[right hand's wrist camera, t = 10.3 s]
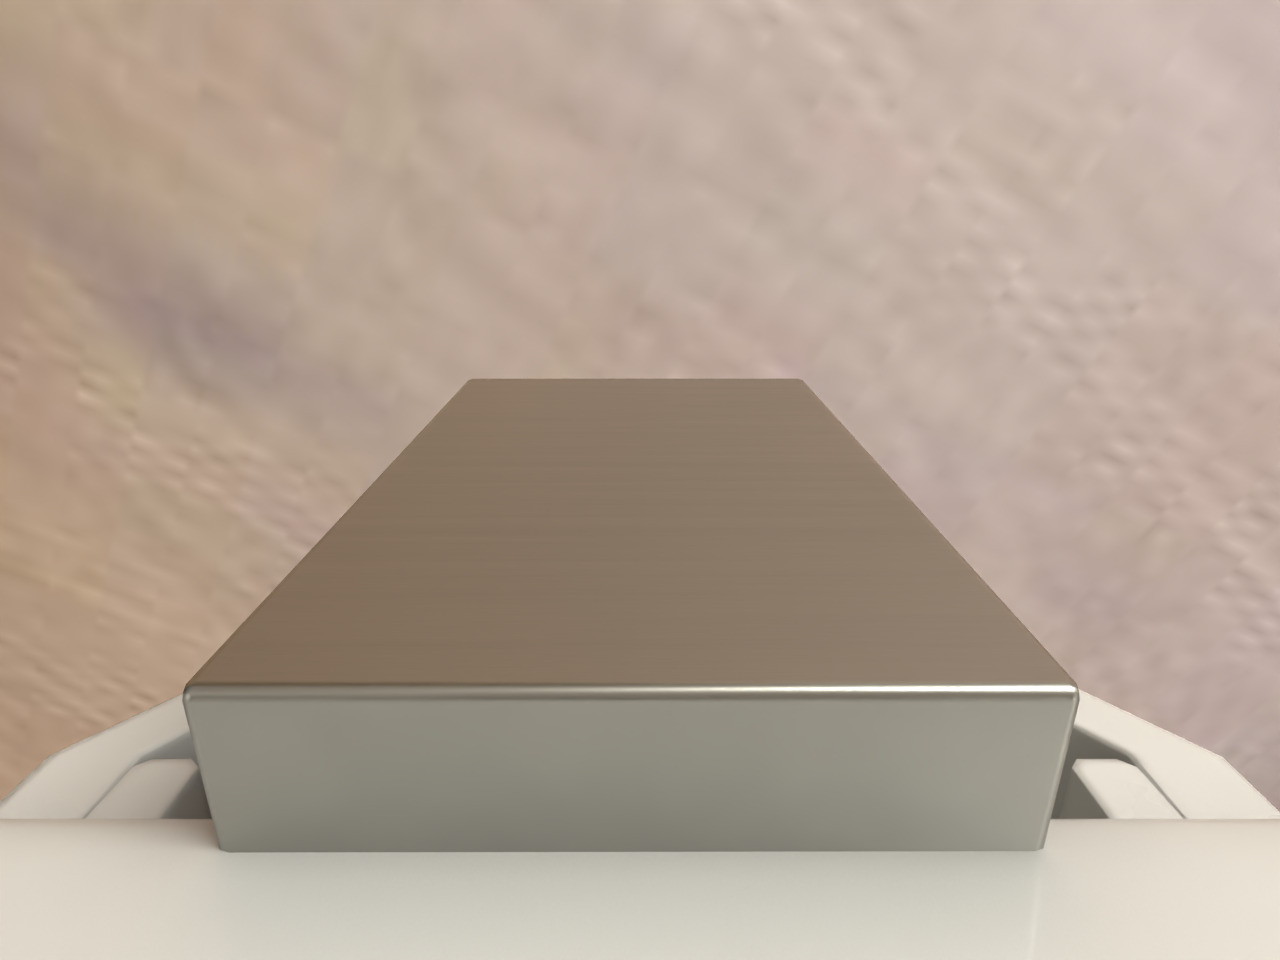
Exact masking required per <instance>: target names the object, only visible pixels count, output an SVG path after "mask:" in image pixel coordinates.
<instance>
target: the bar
mask: <svg viewBox="0 0 1280 960" xmlns="http://www.w3.org/2000/svg"><path fill="white" fill-rule="evenodd" d="M1079 701H1080V696H1079V690H1078V687H1077V684H1076V682H1075V681H1074V680H1073V679H1072V678H1071V677H1070V676H1069V675H1068V674H1067V672H1066V671H1065V670H1064V669H1063V668H1062V667H1061V666H1060V665H1059V664H1058V663H1057V661H1056V660H1055V659H1054V658H1053V657H1052V656H1051V655H1050V654H1049V653H1048V651H1047V650H1046V649H1045V648H1044V647H1043V646H1042V645H1041V644H1040V643H1039V642H1038V640H1037V639H1036V638H1035V637H1034V636H1033V635H1032V634H1031V633H1030V632H1029V630H1028V629H1027V628H1026V627H1025V626H1024V625H1023V624H1022V623H1021V622H1020V620H1019V619H1018V618H1017V617H1016V616H1015V615H1014V614H1013V613H1012V612H1011V611H1010V609H1009V608H1008V607H1007V606H1006V605H1005V604H1004V603H1003V602H1002V601H1001V599H1000V598H999V597H998V596H997V595H996V594H995V593H994V592H993V591H992V589H991V588H990V587H989V586H988V585H987V584H986V583H985V582H984V581H983V580H982V578H981V577H980V576H979V575H978V574H977V573H976V572H975V571H974V570H973V568H972V567H971V566H970V565H969V564H968V563H967V562H966V561H965V560H964V559H963V557H962V556H961V555H960V554H959V553H958V552H957V551H956V550H955V549H954V547H953V546H952V545H951V544H950V543H949V542H948V541H947V540H946V539H945V537H944V536H943V535H942V534H941V533H940V532H939V531H938V530H937V529H936V528H935V526H934V525H933V524H932V523H931V522H930V521H929V520H928V519H927V518H926V516H925V515H924V514H923V513H922V512H921V511H920V510H919V509H918V508H917V507H916V505H915V504H914V503H913V502H912V501H911V500H910V499H909V498H908V497H907V495H906V494H905V493H904V492H903V491H902V490H901V489H900V488H899V487H898V485H897V484H896V483H895V482H894V481H893V480H892V479H891V478H890V477H889V476H888V474H887V473H886V472H885V471H884V470H883V469H882V468H881V467H880V466H879V464H878V463H877V462H876V461H875V460H874V459H873V458H872V457H871V456H870V454H869V453H868V452H867V451H866V450H865V449H864V448H863V447H862V446H861V445H860V443H859V442H858V441H857V440H856V439H855V438H854V437H853V436H852V435H851V433H850V432H849V431H848V430H847V429H846V428H845V427H844V426H843V425H842V424H841V422H840V421H839V420H838V419H837V418H836V417H835V416H834V415H833V414H832V412H831V411H830V410H829V409H828V408H827V407H826V406H825V405H824V404H823V402H822V401H821V400H820V399H819V398H818V397H817V396H816V395H815V394H814V393H813V391H812V390H811V389H810V388H809V387H808V386H807V385H806V384H805V383H804V381H803V380H800V379H471V380H469V381H468V382H467V383H466V384H465V385H464V386H463V387H462V388H461V389H460V390H459V391H458V392H457V394H456V395H455V396H454V397H453V398H452V399H451V400H450V401H449V402H448V403H447V404H446V405H445V406H444V408H443V409H442V410H441V411H440V412H439V413H438V414H437V415H436V416H435V417H434V418H433V419H432V420H431V421H430V423H429V424H428V425H427V426H426V427H425V428H424V429H423V430H422V431H421V432H420V433H419V434H418V435H417V437H416V438H415V439H414V440H413V441H412V442H411V443H410V444H409V445H408V446H407V447H406V448H405V449H404V451H403V452H402V453H401V454H400V455H399V456H398V457H397V458H396V459H395V460H394V461H393V462H392V463H391V464H390V466H389V467H388V468H387V469H386V470H385V471H384V472H383V473H382V474H381V475H380V476H379V477H378V478H377V480H376V481H375V482H374V483H373V484H372V485H371V486H370V487H369V488H368V489H367V490H366V491H365V492H364V494H363V495H362V496H361V497H360V498H359V499H358V500H357V501H356V502H355V503H354V504H353V505H352V506H351V507H350V509H349V510H348V511H347V512H346V513H345V514H344V515H343V516H342V517H341V518H340V519H339V520H338V521H337V523H336V524H335V525H334V526H333V527H332V528H331V529H330V530H329V531H328V532H327V533H326V534H325V535H324V537H323V538H322V539H321V540H320V541H319V542H318V543H317V544H316V545H315V546H314V547H313V548H312V549H311V550H310V552H309V553H308V554H307V555H306V556H305V557H304V558H303V559H302V560H301V561H300V562H299V563H298V564H297V566H296V567H295V568H294V569H293V570H292V571H291V572H290V573H289V574H288V575H287V576H286V577H285V578H284V580H283V581H282V582H281V583H280V584H279V585H278V586H277V587H276V588H275V589H274V590H273V591H272V592H271V593H270V595H269V596H268V597H267V598H266V599H265V600H264V601H263V602H262V603H261V604H260V605H259V606H258V607H257V609H256V610H255V611H254V612H253V613H252V614H251V615H250V616H249V617H248V618H247V619H246V620H245V621H244V623H243V624H242V625H241V626H240V627H239V628H238V629H237V630H236V631H235V632H234V633H233V634H232V635H231V636H230V638H229V639H228V640H227V641H226V642H225V643H224V644H223V645H222V646H221V647H220V648H219V649H218V650H217V652H216V653H215V654H214V655H213V656H212V657H211V658H210V659H209V660H208V661H207V662H206V663H205V664H204V666H203V667H202V668H201V669H200V670H199V671H198V672H197V673H196V674H195V675H194V676H193V677H192V678H191V680H190V681H189V682H188V683H187V684H186V686H185V689H184V691H183V698H182V702H183V706H184V710H185V714H186V718H187V722H188V726H189V730H190V733H191V737H192V741H193V745H194V749H195V753H196V757H197V761H198V765H199V769H200V773H201V777H202V780H203V784H204V788H205V792H206V796H207V800H208V804H209V808H210V812H211V816H212V820H213V824H214V827H215V831H216V835H217V839H218V843H219V847H220V850H223V851H225V852H228V853H259V852H859V851H1037V850H1040V849H1043V848H1044V844H1045V840H1046V836H1047V832H1048V828H1049V823H1050V819H1051V815H1052V811H1053V807H1054V803H1055V799H1056V795H1057V791H1058V787H1059V783H1060V779H1061V775H1062V771H1063V766H1064V762H1065V758H1066V754H1067V750H1068V746H1069V742H1070V738H1071V734H1072V730H1073V726H1074V722H1075V718H1076V714H1077V710H1078V705H1079Z"/></svg>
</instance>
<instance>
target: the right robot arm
mask: <svg viewBox="0 0 1280 960" xmlns="http://www.w3.org/2000/svg"><path fill="white" fill-rule="evenodd" d="M1078 690H1079V696H1080V701H1079V705H1078V710H1077V714H1076V718H1075V722H1074V726H1073V730H1072V734H1071V738H1070V742H1069V746H1068V750H1067V754H1066V758H1065V762H1064V766H1063V771H1062V775H1061V779H1060V783H1059V787H1058V791H1057V795H1056V799H1055V803H1054V807H1053V811H1052V815H1051V819H1050V823H1049V828H1048V832H1047V836H1046V840H1045V844H1044V848H1043V849H1040V850H1037V851H859V852H259V853H228V852H225V851H223V850H220V847H219V843H218V839H217V835H216V831H215V827H214V824H213V820H212V816H211V812H210V808H209V804H208V800H207V796H206V792H205V788H204V784H203V780H202V777H201V773H200V769H199V765H198V761H197V757H196V753H195V749H194V745H193V741H192V737H191V733H190V730H189V726H188V722H187V718H186V714H185V710H184V706H183V702H182V698H183V693H182V694H180V695H178V696H176V697H174V698H172V699H170V700H167V701H165V702H163V703H161V704H159V705H157V706H155V707H152V708H150V709H148V710H146V711H144V712H142V713H140V714H137V715H135V716H133V717H131V718H129V719H127V720H125V721H122V722H120V723H118V724H116V725H114V726H112V727H110V728H107V729H105V730H103V731H101V732H99V733H97V734H95V735H92V736H90V737H88V738H86V739H84V740H82V741H80V742H77V743H75V744H73V745H71V746H69V747H67V748H65V749H62V750H60V751H58V752H56V753H54V754H52V755H50V756H48V757H47V758H46V759H45V760H44V761H43V762H42V763H41V764H40V765H39V766H38V767H37V768H35V769H34V770H33V771H32V772H31V773H30V774H29V775H28V776H27V777H26V778H25V779H24V780H23V781H22V782H21V783H19V784H18V785H17V786H16V787H15V788H14V789H13V790H12V791H11V792H10V793H9V794H8V795H7V796H6V797H5V798H4V799H2V800H1V801H0V960H1280V812H1279V811H1278V810H1277V809H1276V808H1275V807H1274V806H1273V805H1272V804H1271V803H1270V802H1269V801H1268V800H1267V799H1266V798H1265V797H1263V796H1262V795H1261V794H1260V793H1259V792H1258V791H1257V790H1256V789H1255V788H1254V787H1253V786H1252V785H1251V784H1250V783H1249V782H1248V781H1247V780H1246V779H1245V778H1244V777H1243V776H1242V775H1241V774H1240V773H1239V772H1237V771H1236V770H1235V769H1234V768H1233V767H1232V766H1231V765H1230V764H1229V763H1228V762H1227V761H1226V760H1225V759H1224V758H1223V757H1221V756H1219V755H1217V754H1215V753H1213V752H1211V751H1209V750H1207V749H1205V748H1202V747H1200V746H1198V745H1196V744H1194V743H1192V742H1190V741H1188V740H1186V739H1183V738H1181V737H1179V736H1177V735H1175V734H1173V733H1171V732H1169V731H1166V730H1164V729H1162V728H1160V727H1158V726H1156V725H1154V724H1152V723H1150V722H1147V721H1145V720H1143V719H1141V718H1139V717H1137V716H1135V715H1133V714H1131V713H1128V712H1126V711H1124V710H1122V709H1120V708H1118V707H1116V706H1114V705H1112V704H1109V703H1107V702H1105V701H1103V700H1101V699H1099V698H1097V697H1095V696H1092V695H1090V694H1088V693H1086V692H1084V691H1082V690H1080V689H1078Z"/></svg>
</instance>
